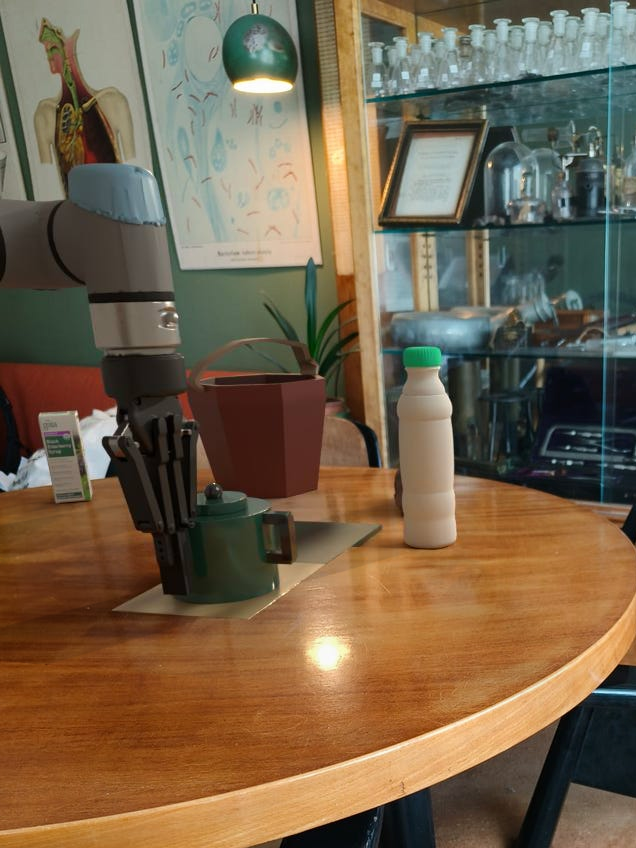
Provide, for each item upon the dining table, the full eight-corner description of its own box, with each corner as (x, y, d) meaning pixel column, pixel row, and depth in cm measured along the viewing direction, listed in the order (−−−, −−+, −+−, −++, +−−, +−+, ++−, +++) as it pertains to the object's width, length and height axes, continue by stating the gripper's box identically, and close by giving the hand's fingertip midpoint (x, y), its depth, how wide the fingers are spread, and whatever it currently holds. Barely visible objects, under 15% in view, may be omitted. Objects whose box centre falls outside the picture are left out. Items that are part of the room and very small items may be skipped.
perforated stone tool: (398, 497, 145) (396, 455, 143) (430, 496, 146) (428, 454, 143) (392, 519, 131) (389, 472, 129) (428, 518, 132) (425, 471, 129)
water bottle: (394, 547, 117) (382, 348, 108) (420, 534, 123) (411, 345, 114) (441, 552, 114) (433, 349, 105) (465, 538, 120) (459, 345, 111)
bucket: (315, 471, 169) (302, 333, 160) (362, 491, 151) (351, 337, 142) (185, 487, 157) (164, 340, 148) (220, 510, 140) (198, 344, 130)
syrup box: (54, 504, 147) (36, 415, 142) (57, 497, 152) (40, 411, 147) (91, 500, 149) (75, 412, 144) (93, 494, 154) (77, 409, 149)
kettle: (120, 599, 97) (101, 492, 92) (180, 567, 107) (165, 470, 103) (274, 608, 92) (261, 497, 88) (320, 575, 103) (310, 474, 99)
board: (111, 617, 94) (110, 610, 93) (279, 525, 130) (279, 520, 129) (249, 626, 90) (248, 619, 90) (382, 529, 126) (382, 524, 126)
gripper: (134, 355, 76) (175, 615, 84) (212, 348, 87) (242, 577, 96) (59, 356, 78) (107, 611, 86) (146, 349, 89) (181, 574, 97)
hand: (178, 593), depth 91 cm, fingers closed
